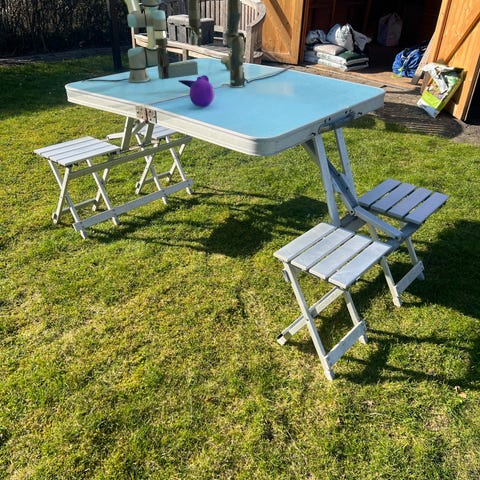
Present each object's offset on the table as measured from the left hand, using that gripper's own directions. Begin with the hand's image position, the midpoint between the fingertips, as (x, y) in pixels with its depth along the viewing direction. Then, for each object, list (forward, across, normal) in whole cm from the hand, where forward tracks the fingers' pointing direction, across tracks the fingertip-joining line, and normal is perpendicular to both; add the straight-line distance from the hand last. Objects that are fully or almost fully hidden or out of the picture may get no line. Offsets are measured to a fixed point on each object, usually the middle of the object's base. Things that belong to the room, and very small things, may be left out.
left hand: (164, 76), depth 292 cm
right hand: (-17, -3, -22) cm, 28 cm away
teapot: (+12, +54, -83) cm, 100 cm away
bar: (+1, 0, -10) cm, 10 cm away
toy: (+11, -37, -5) cm, 39 cm away
